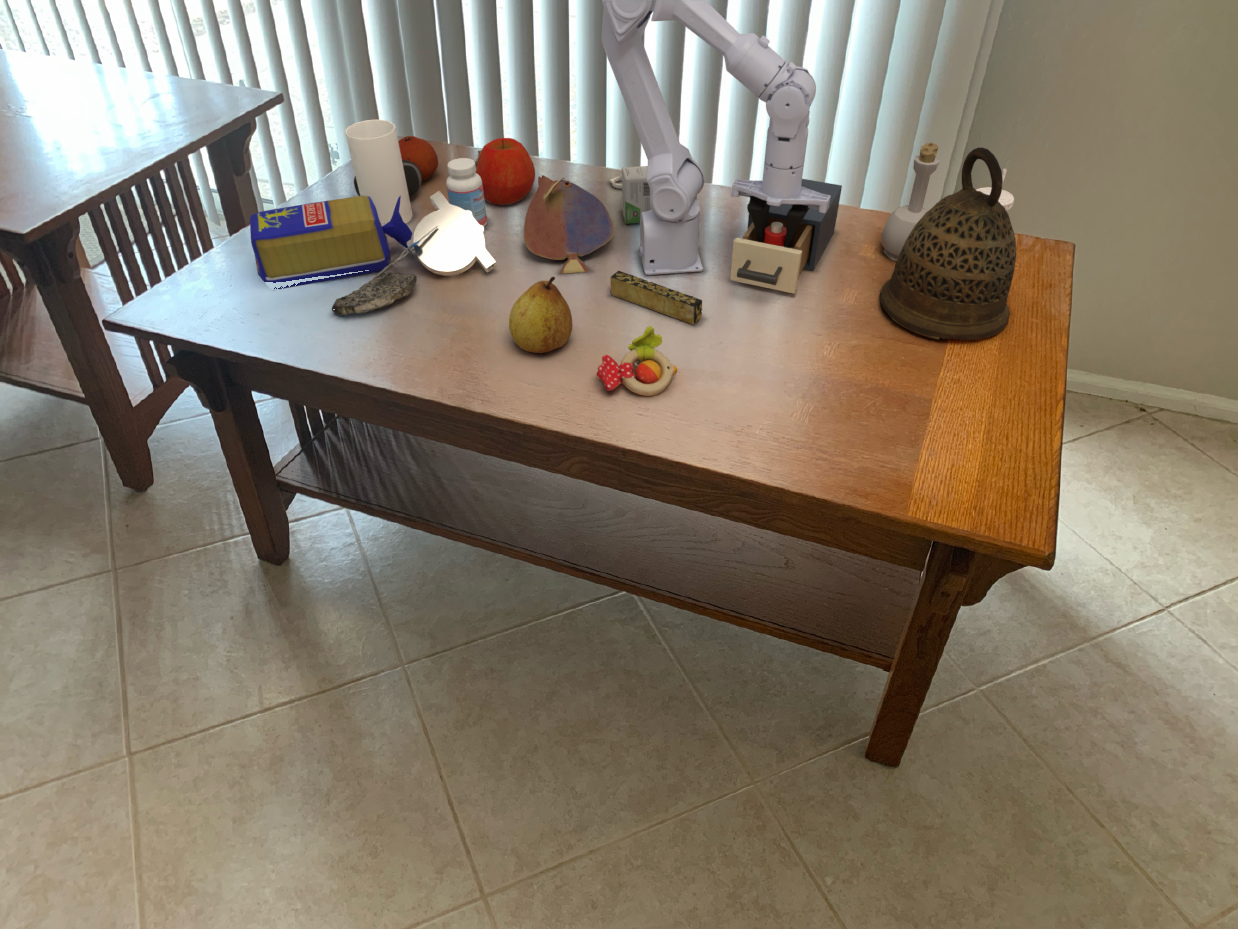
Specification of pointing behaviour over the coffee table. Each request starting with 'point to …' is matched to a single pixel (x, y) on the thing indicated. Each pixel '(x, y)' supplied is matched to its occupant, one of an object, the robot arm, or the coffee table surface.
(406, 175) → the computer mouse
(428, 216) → the tabbed white plastic disc
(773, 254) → the drawer
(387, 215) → the cup
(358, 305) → the stone
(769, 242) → the red cylinder
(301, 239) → the bread
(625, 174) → the ink box
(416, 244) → the scissors
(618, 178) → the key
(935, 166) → the potion bottle
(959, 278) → the bell
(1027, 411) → the coffee table surface
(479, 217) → the pill bottle
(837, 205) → the cabinet
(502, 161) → the apple
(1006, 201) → the smoothie
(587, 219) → the fish
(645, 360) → the bird rattle
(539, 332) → the fruit
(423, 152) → the fruit
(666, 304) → the decorative block
